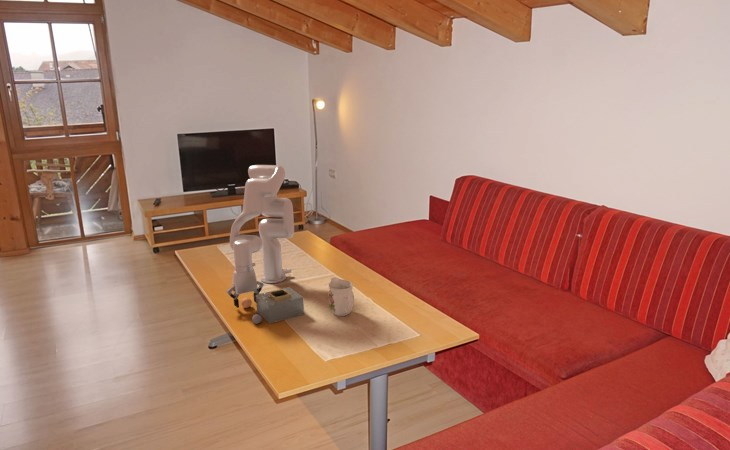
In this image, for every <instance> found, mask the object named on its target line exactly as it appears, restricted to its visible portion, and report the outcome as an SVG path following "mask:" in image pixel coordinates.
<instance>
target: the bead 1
mask: <svg viewBox="0 0 730 450" xmlns="http://www.w3.org/2000/svg"><path fill="white" fill-rule="evenodd" d="M252 304H253V302H252V299H251V298H250V297H244V298H242V300H241V306H242V307H243V308H246V309H248V308H251V306H252Z"/></svg>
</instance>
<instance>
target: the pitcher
mask: <svg viewBox="0 0 730 450" xmlns="http://www.w3.org/2000/svg"><path fill="white" fill-rule="evenodd" d="M353 285H354V284H353V282H351V281H349V280H347V279H342V278H339V277H332V278H330V282H328V289H329V291H328V292H329V293H328V296H327V297H328V298H327V299H328V306H329V307H330V311H331V313H333V314H334V315H335V316H337V317H345V316H348V315H349V314H350V313H351V312H352V310H353V306H354V302H355V301H354V300H355V299H354V298H355V295H354V292H353V288H354V287H353Z"/></svg>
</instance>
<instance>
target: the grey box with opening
mask: <svg viewBox="0 0 730 450" xmlns="http://www.w3.org/2000/svg"><path fill="white" fill-rule="evenodd" d="M304 302H305V301H304V296H303V295H301V294H300V293H299V292H297V291H296V290H294V289H293V288H291V287H290V286H288V287H283V288H280V289H279V288H278V289H274V290H271V291H266V292H263V293H259V294H257V295H256V302H255V304H256V312H257V314H259V315H261V317H262V319H263V318H264V320H265V321H266V322H267V323H268V324H272V323H276V322H280V321H284V320H286V319H287V320H288V319H291V318H296V317H298V316H302V315H305V307H304V306H305V305H304Z"/></svg>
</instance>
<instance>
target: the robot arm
mask: <svg viewBox="0 0 730 450" xmlns="http://www.w3.org/2000/svg"><path fill="white" fill-rule="evenodd" d="M247 173H248V177H249V178H248V179H247V180H246V182H245V185H244V195H243V203H242V204H243V205H242V211H241V213H240V214H239V215H237V217H236V218H235V219H234V222H232V224H231V228H230V234H229V246H230V249H231V250H232V251H233V258H234V259H233V260H234V270H233V272H232V286H230V287H229V288H228V289H227V290H226V291H225V292H226V293H227V295H229V296H230V298H232V299H233V305H234V306H235V307H236V308H237V309H239V308H240V302H239V301H240V300H239V297H240V295H242V294H246V293H247V294H248V293H252V292H253V301H254V303H256V295H257V294H260V292H261V291H262V289H263V287H264V285H265V284H276V283H277V284H278V283H281V282H284V281H285V280H286V279H287V276H286V275H287V274H291V273H292V271H293V270H292V268H283V259H282V258H283V257H282V245H281V242H280V241H279V239H291V238H292V237H294V234H295V221H294V219H295V218H294V206H293V203H292V200H291V199H290V198H288V197H278V195H277V194H278V193H279V191H280V188H281V187H282V184H283V182H284V181H285V178H286V171H285V168H284V167H283V166H281V165H279V164H277V165H276V164H275V165H274V164H254V165H250V166H249V167H248V169H247ZM261 215H262V216H264V217H269V218H263V219H261V220H260V221H259V222H258V232H259V235H254V234H253V235H252V234H251V235H250V234H240V230H241V228H242V226H244V224H245V223H246V222H248V221H250V220H252V219H255V218H256V217H260V216H261ZM260 250H261V253H262V271H263V275H261V277H260V280H261V282H260V281H258V280H257V275H256V271H255V269H254V267H256V262H253V256H252V255H253V254H256V253H258V252H259V251H260ZM264 283H265V284H264ZM232 292H234V293H232Z"/></svg>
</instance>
